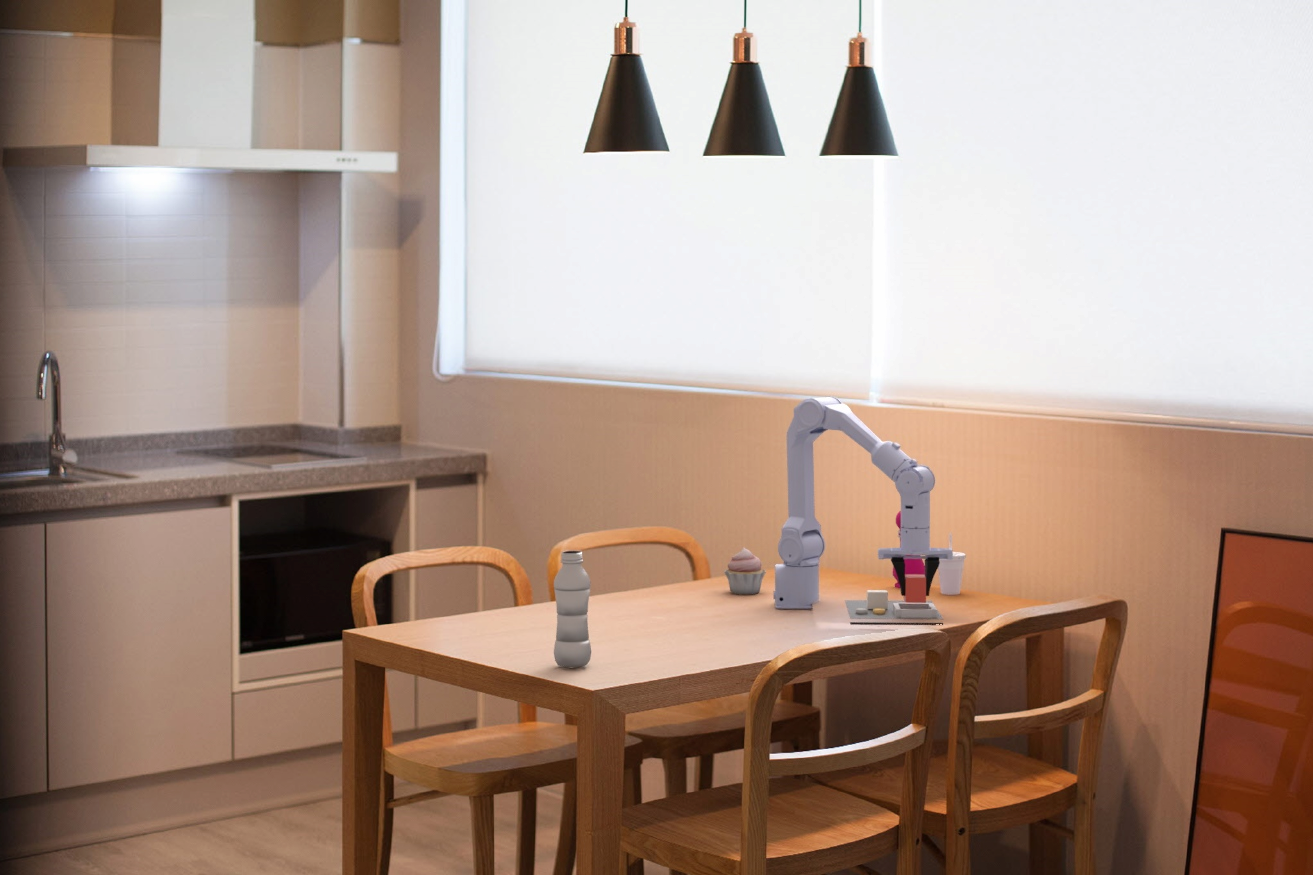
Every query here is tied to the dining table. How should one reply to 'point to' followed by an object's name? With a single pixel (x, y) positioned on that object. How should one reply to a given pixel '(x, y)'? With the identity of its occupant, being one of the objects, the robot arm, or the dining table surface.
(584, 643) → the plastic bottle
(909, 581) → the cap
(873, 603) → the block
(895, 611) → the panel
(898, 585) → the pepper mill
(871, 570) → the dining table surface
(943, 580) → the smoothie
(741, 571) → the cupcake
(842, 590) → the dining table surface
